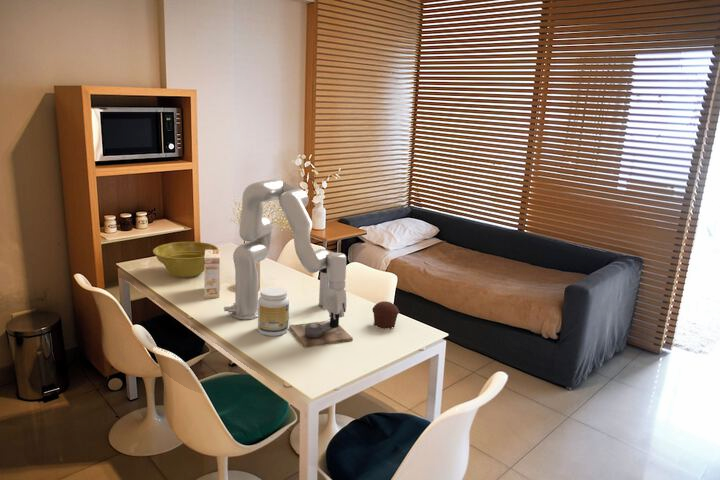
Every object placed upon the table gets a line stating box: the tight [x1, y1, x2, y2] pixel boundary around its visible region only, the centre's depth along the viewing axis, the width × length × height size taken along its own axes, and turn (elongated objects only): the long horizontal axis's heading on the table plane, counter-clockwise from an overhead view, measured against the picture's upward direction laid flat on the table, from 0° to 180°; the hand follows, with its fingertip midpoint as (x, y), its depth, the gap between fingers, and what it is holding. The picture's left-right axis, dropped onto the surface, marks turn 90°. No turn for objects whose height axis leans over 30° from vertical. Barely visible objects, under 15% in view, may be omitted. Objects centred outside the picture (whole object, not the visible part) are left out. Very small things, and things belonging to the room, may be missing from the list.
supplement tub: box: [257, 286, 290, 337], centre depth 211 cm, size 12×12×17 cm
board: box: [288, 320, 353, 348], centre depth 212 cm, size 20×19×1 cm
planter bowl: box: [152, 241, 219, 278], centre depth 274 cm, size 32×32×13 cm
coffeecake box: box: [203, 249, 221, 299], centre depth 249 cm, size 15×7×20 cm, turn 14°
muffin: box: [372, 300, 400, 330], centre depth 225 cm, size 12×11×10 cm
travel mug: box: [318, 268, 327, 309], centre depth 241 cm, size 6×7×20 cm
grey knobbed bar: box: [305, 318, 332, 339], centre depth 211 cm, size 16×7×4 cm, turn 144°
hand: (334, 326), depth 213 cm, fingers closed
